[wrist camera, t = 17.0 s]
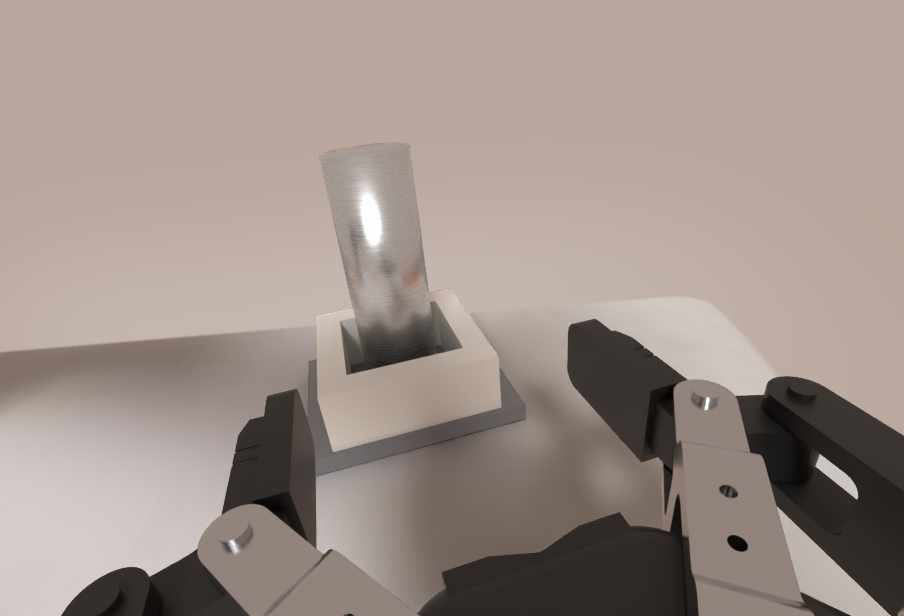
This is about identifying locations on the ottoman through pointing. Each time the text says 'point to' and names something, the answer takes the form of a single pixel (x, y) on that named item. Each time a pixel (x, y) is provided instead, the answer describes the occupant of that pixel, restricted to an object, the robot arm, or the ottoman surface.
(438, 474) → the ottoman surface
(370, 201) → the silver metal cylinder
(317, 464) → the dock
